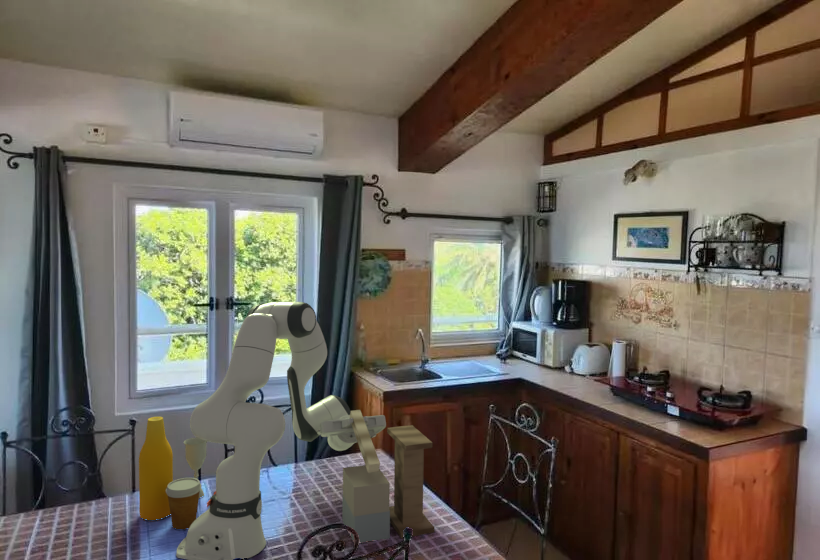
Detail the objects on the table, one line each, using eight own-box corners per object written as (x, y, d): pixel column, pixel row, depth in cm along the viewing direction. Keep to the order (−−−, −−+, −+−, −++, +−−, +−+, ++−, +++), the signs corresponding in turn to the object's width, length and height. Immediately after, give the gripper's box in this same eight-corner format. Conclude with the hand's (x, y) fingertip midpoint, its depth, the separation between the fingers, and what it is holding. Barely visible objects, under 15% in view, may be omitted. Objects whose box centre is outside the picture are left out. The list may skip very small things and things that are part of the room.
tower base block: (342, 521, 162) (342, 494, 162) (375, 515, 166) (375, 489, 165) (354, 545, 149) (354, 516, 149) (389, 538, 152) (389, 510, 152)
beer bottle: (138, 524, 158) (136, 425, 157) (140, 510, 167) (139, 415, 165) (173, 518, 162) (172, 421, 160) (173, 505, 170) (172, 412, 169)
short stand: (383, 512, 167) (384, 428, 166) (414, 507, 171) (415, 424, 170) (401, 538, 152) (402, 446, 151) (434, 532, 156) (435, 442, 155)
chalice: (182, 501, 173) (182, 445, 172) (185, 492, 179) (184, 438, 178) (207, 499, 175) (207, 443, 174) (209, 490, 181) (208, 436, 180)
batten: (349, 418, 167) (350, 410, 166) (359, 417, 168) (360, 409, 167) (368, 472, 149) (369, 464, 148) (378, 471, 150) (380, 463, 149)
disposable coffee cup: (204, 527, 157) (204, 486, 156) (168, 536, 152) (168, 493, 151) (198, 513, 165) (197, 474, 165) (163, 521, 160) (163, 481, 159)
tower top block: (342, 494, 162) (342, 467, 161) (375, 490, 165) (375, 463, 165) (353, 516, 149) (353, 487, 148) (389, 511, 152) (389, 482, 151)
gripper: (314, 423, 173) (322, 412, 161) (377, 416, 180) (389, 406, 168) (316, 443, 170) (324, 434, 158) (380, 436, 177) (392, 427, 166)
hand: (358, 419), depth 163 cm, fingers closed on batten, 3 cm apart
